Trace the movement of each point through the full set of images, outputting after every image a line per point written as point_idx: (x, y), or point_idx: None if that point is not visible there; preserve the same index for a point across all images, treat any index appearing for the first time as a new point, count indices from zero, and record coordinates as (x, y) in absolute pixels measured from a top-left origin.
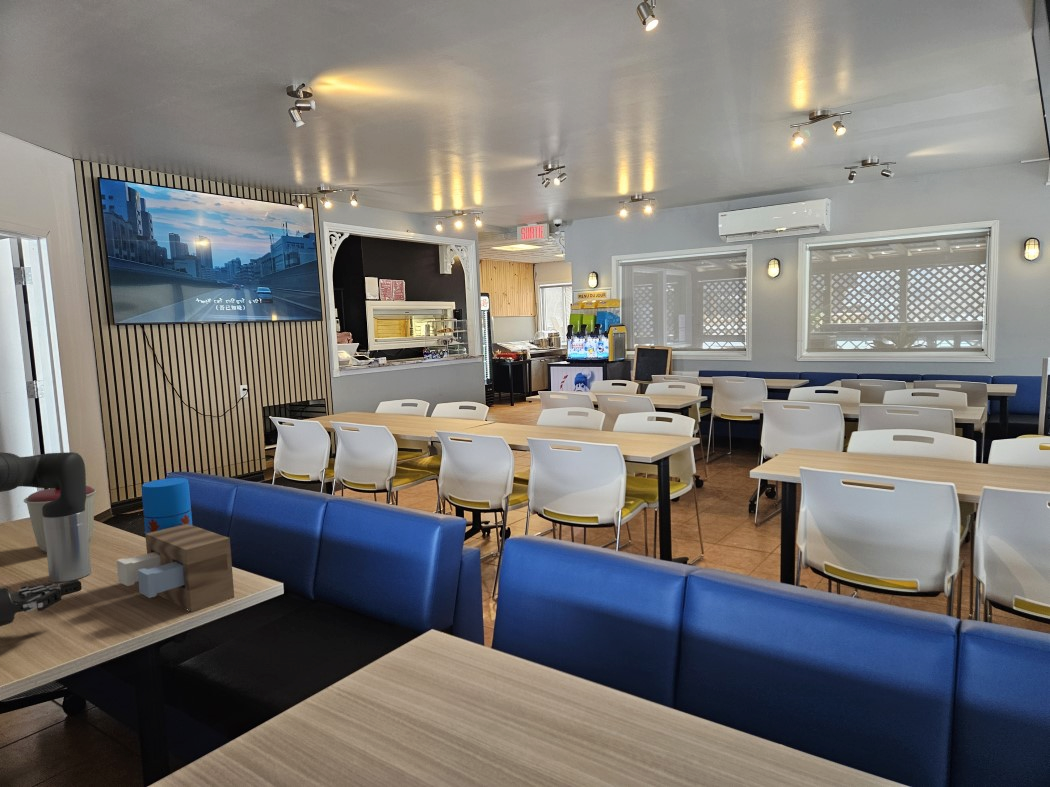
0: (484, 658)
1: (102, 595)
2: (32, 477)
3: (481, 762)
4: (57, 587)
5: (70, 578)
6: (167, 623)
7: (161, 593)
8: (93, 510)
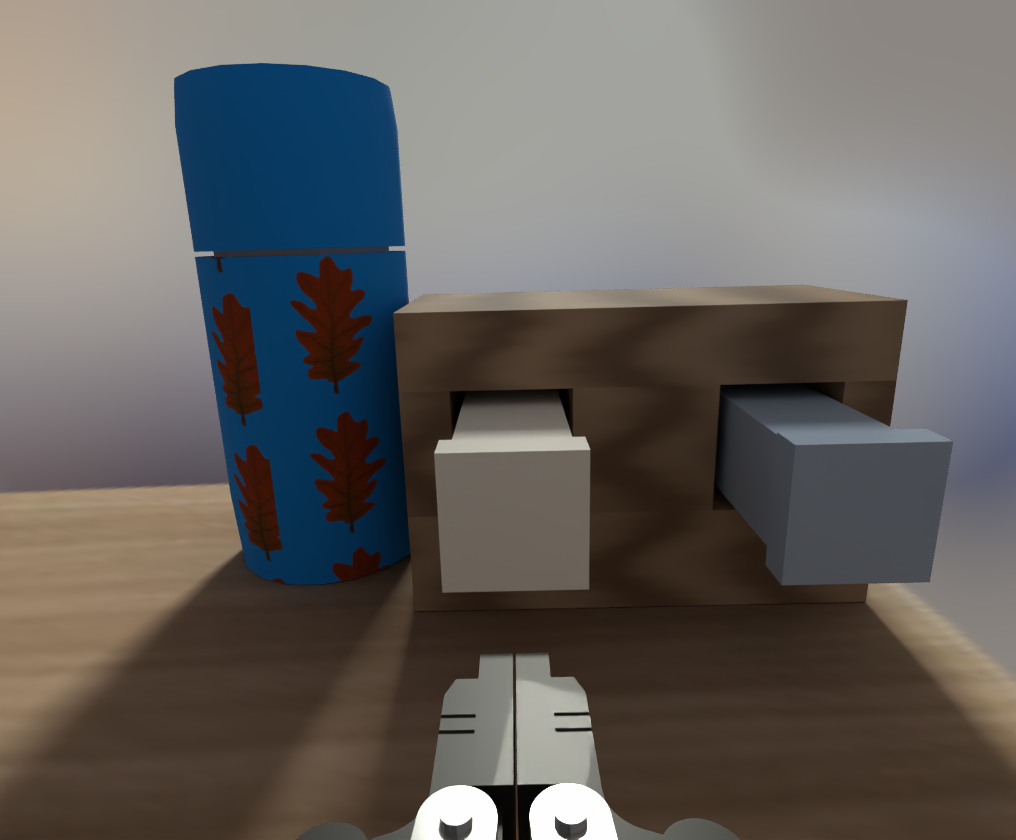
0: None
1: (186, 737)
2: None
3: None
4: (600, 824)
5: None
6: (979, 680)
7: (545, 593)
8: None
